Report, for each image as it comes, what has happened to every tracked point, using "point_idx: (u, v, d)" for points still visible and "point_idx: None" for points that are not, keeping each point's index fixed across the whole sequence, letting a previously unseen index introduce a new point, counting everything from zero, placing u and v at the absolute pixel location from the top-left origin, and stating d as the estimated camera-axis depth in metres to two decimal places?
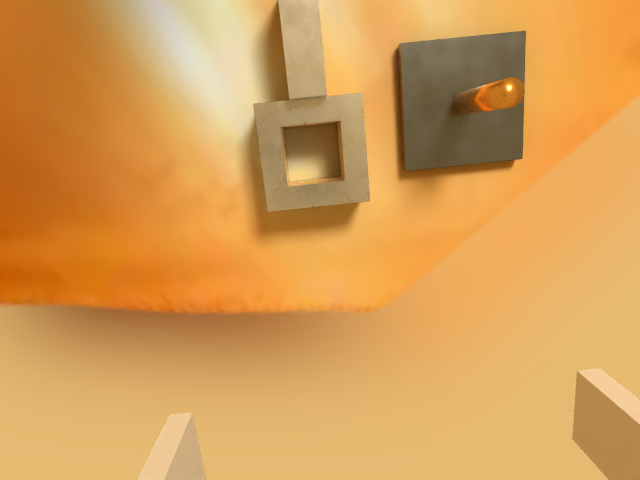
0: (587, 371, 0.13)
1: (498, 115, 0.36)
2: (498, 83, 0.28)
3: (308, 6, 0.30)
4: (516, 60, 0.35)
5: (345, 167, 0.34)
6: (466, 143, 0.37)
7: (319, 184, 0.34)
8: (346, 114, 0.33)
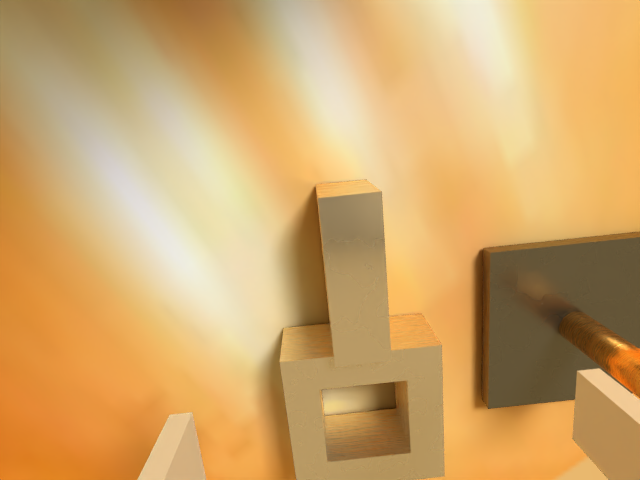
0: (587, 371, 0.13)
1: None
2: None
3: (368, 245, 0.19)
4: None
5: (411, 437, 0.24)
6: (575, 374, 0.26)
7: (373, 458, 0.24)
8: (416, 373, 0.22)
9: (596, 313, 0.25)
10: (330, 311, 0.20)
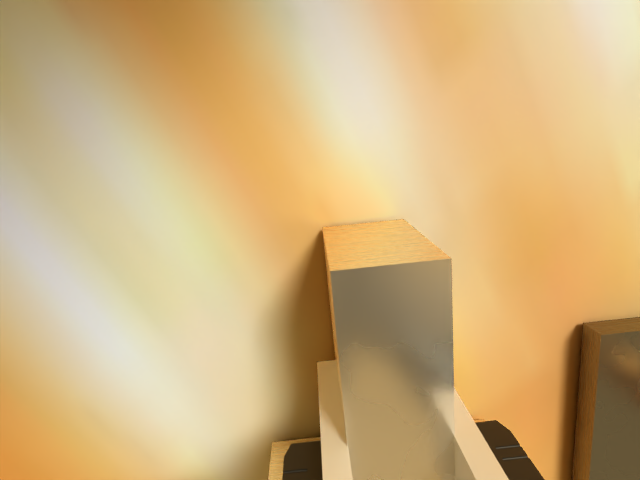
0: None
1: None
2: None
3: (423, 354, 0.10)
4: None
5: None
6: None
7: None
8: None
9: None
10: (351, 465, 0.11)
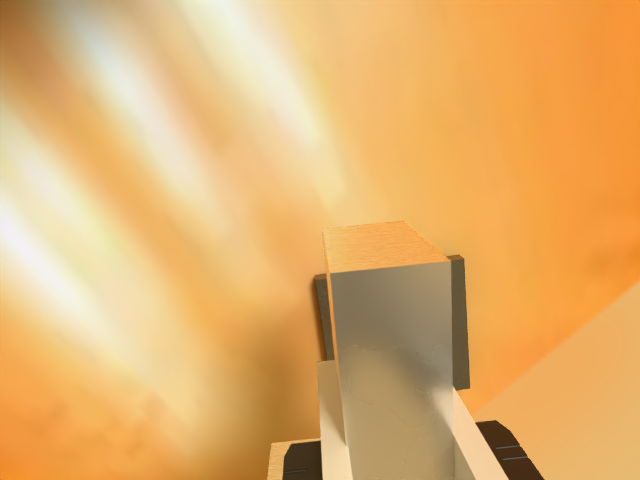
0: None
1: None
2: None
3: (422, 356, 0.10)
4: (455, 290, 0.30)
5: None
6: None
7: None
8: None
9: None
10: None
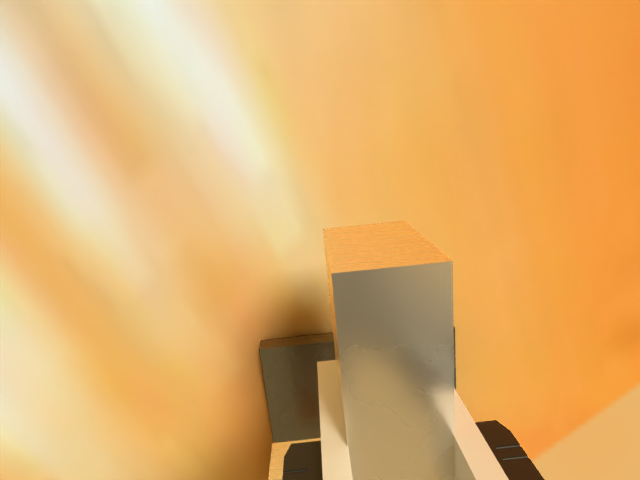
0: None
1: None
2: None
3: (423, 356, 0.10)
4: None
5: None
6: None
7: None
8: None
9: None
10: (351, 467, 0.11)
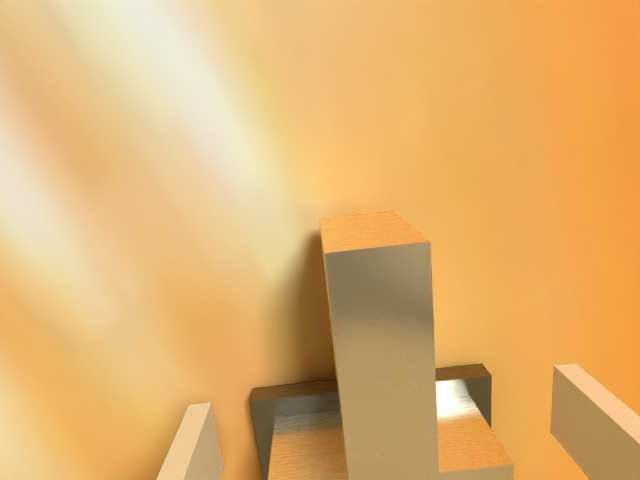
0: (563, 366, 0.14)
1: None
2: None
3: (407, 327, 0.12)
4: None
5: None
6: None
7: None
8: None
9: None
10: (344, 427, 0.13)
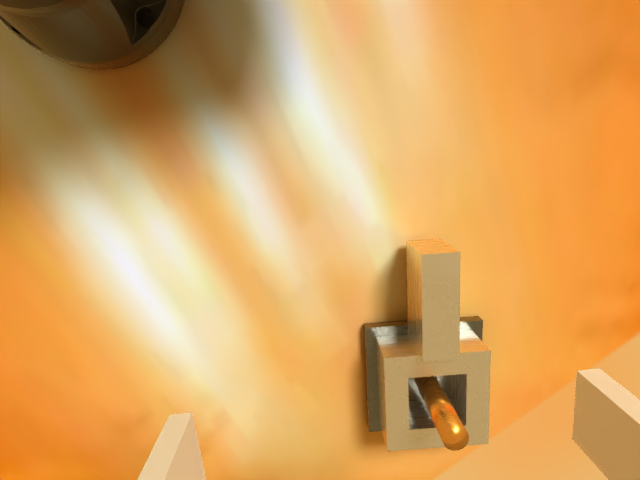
0: (587, 371, 0.13)
1: None
2: (445, 428, 0.30)
3: (449, 284, 0.31)
4: None
5: (467, 414, 0.35)
6: None
7: None
8: (473, 369, 0.34)
9: None
10: (422, 325, 0.32)
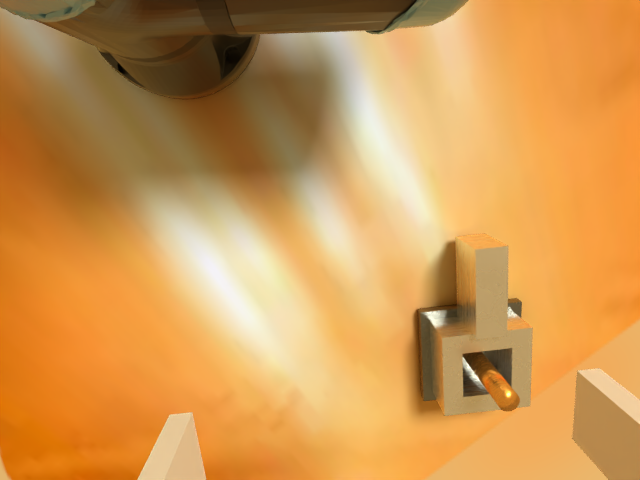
0: (587, 371, 0.13)
1: None
2: (499, 393, 0.36)
3: (499, 273, 0.37)
4: None
5: (512, 382, 0.41)
6: None
7: (489, 395, 0.41)
8: (517, 343, 0.40)
9: None
10: (476, 308, 0.38)
